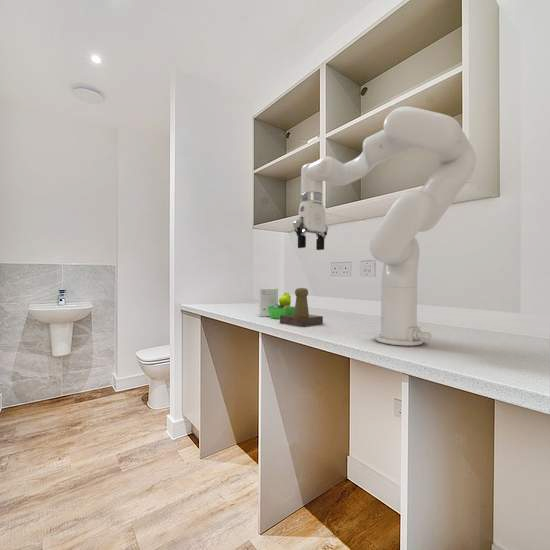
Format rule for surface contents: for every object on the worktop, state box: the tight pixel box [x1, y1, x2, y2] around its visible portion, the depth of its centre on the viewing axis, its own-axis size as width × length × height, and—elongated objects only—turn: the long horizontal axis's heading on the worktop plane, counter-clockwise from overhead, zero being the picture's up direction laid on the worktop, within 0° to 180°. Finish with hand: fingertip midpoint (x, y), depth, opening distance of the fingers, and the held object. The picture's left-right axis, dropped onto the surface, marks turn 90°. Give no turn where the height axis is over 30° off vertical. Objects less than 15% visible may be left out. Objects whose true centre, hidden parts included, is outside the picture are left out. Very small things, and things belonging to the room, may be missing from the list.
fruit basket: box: [268, 292, 295, 320], centre depth 138 cm, size 11×9×11 cm
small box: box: [259, 287, 279, 317], centre depth 147 cm, size 8×6×13 cm
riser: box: [279, 314, 324, 328], centre depth 123 cm, size 12×12×3 cm
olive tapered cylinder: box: [294, 287, 310, 317], centre depth 123 cm, size 6×6×11 cm
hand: (311, 248), depth 109 cm, fingers open, 9 cm apart
